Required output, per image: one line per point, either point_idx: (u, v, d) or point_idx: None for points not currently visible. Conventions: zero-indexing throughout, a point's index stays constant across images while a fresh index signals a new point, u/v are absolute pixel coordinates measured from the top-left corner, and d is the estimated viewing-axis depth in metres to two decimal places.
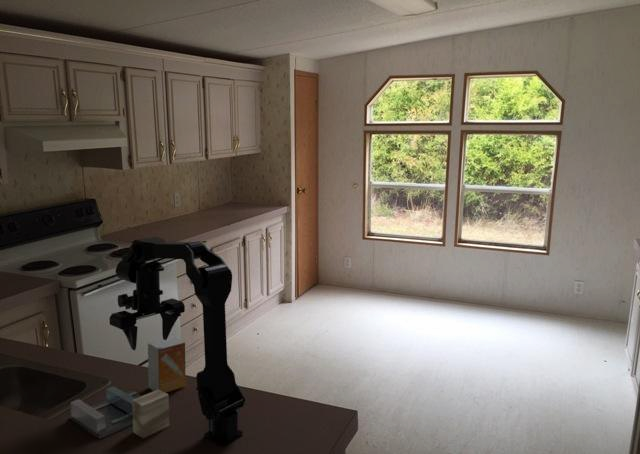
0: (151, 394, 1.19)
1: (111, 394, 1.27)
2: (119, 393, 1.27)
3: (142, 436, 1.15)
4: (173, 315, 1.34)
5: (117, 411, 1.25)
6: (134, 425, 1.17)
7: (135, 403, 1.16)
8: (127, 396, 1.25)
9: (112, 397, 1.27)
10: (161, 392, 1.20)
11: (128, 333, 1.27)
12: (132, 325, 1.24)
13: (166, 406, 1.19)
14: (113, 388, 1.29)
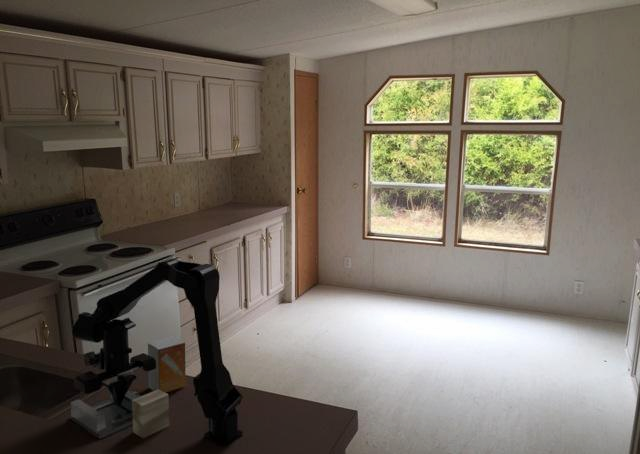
0: (151, 394, 1.19)
1: None
2: None
3: (142, 436, 1.15)
4: (127, 379, 1.24)
5: (117, 411, 1.25)
6: (134, 425, 1.17)
7: (135, 403, 1.16)
8: (131, 394, 1.26)
9: None
10: (161, 392, 1.20)
11: (112, 389, 1.23)
12: (98, 388, 1.17)
13: (166, 406, 1.19)
14: None
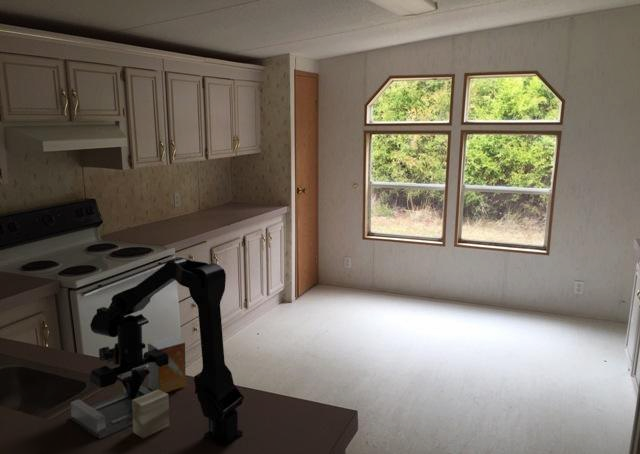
0: (151, 394, 1.19)
1: None
2: None
3: (142, 436, 1.15)
4: (141, 373, 1.27)
5: (117, 411, 1.25)
6: (134, 425, 1.17)
7: (135, 403, 1.16)
8: (144, 389, 1.29)
9: None
10: (161, 392, 1.20)
11: (126, 383, 1.26)
12: (113, 382, 1.20)
13: (166, 406, 1.19)
14: None
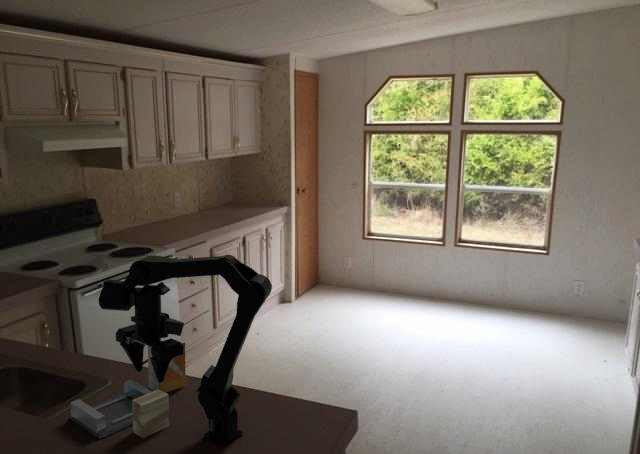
0: (151, 394, 1.19)
1: (129, 387, 1.31)
2: (136, 386, 1.30)
3: (142, 436, 1.15)
4: (154, 357, 1.11)
5: (117, 411, 1.25)
6: (134, 425, 1.17)
7: (135, 403, 1.16)
8: (144, 389, 1.29)
9: (130, 390, 1.31)
10: (161, 392, 1.20)
11: None
12: (120, 341, 1.18)
13: (166, 406, 1.19)
14: (130, 381, 1.33)
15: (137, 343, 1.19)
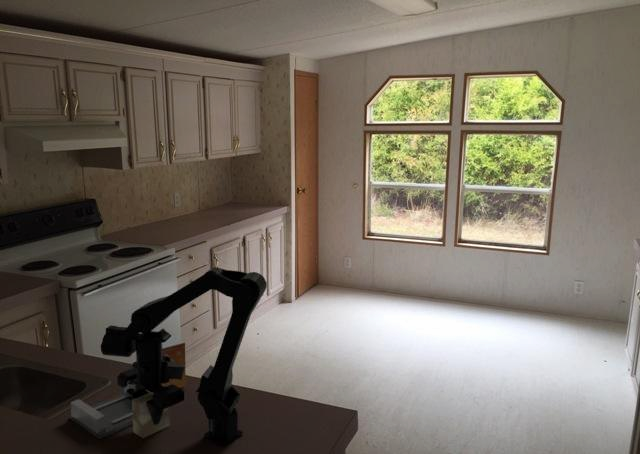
0: (151, 394, 1.19)
1: None
2: None
3: (142, 436, 1.15)
4: (150, 401, 1.14)
5: (117, 411, 1.25)
6: (134, 425, 1.17)
7: (135, 403, 1.16)
8: None
9: None
10: None
11: None
12: (122, 386, 1.19)
13: None
14: None
15: (143, 390, 1.20)
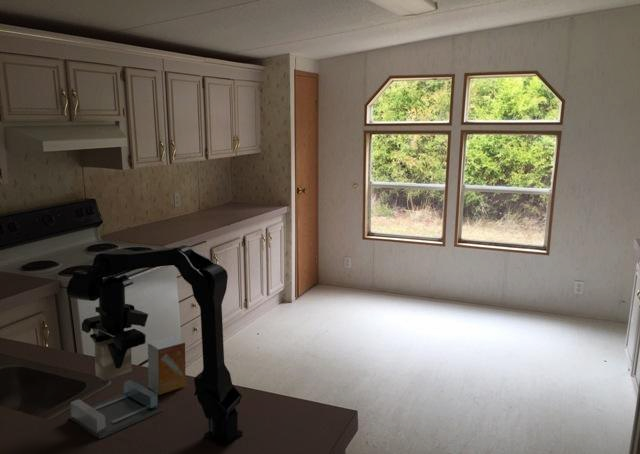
0: None
1: (129, 387, 1.31)
2: (136, 386, 1.30)
3: (103, 379, 1.19)
4: (111, 344, 1.17)
5: (117, 411, 1.25)
6: (96, 368, 1.20)
7: (97, 346, 1.19)
8: (144, 389, 1.29)
9: (130, 390, 1.31)
10: None
11: None
12: (86, 331, 1.22)
13: (128, 351, 1.23)
14: (130, 381, 1.33)
15: (107, 335, 1.23)
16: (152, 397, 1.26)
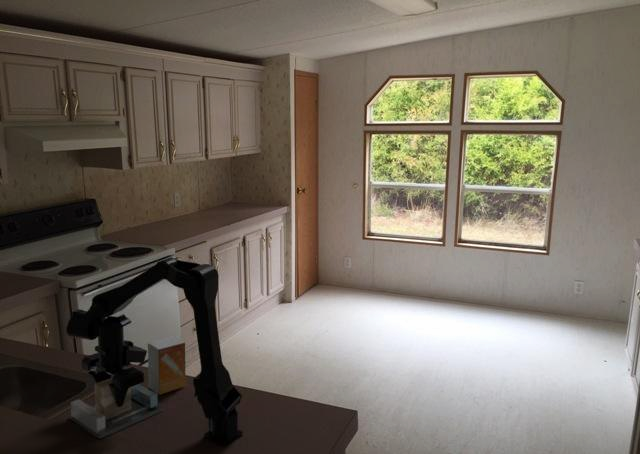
0: None
1: None
2: (136, 386, 1.30)
3: None
4: (113, 384, 1.19)
5: None
6: (97, 408, 1.22)
7: (97, 387, 1.21)
8: (144, 389, 1.29)
9: None
10: None
11: None
12: (86, 369, 1.24)
13: (128, 390, 1.24)
14: None
15: (105, 372, 1.25)
16: (152, 397, 1.26)
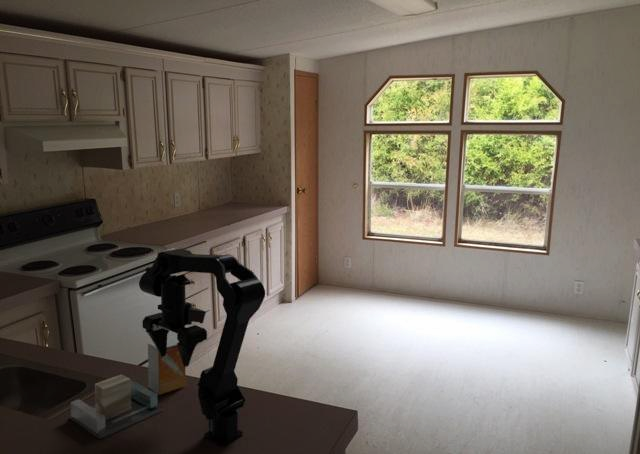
0: (114, 378, 1.24)
1: None
2: (136, 386, 1.30)
3: None
4: None
5: None
6: (97, 408, 1.22)
7: (97, 387, 1.21)
8: (144, 389, 1.29)
9: None
10: (123, 377, 1.25)
11: None
12: (147, 328, 1.26)
13: (128, 390, 1.24)
14: None
15: (161, 330, 1.28)
16: (152, 397, 1.26)
